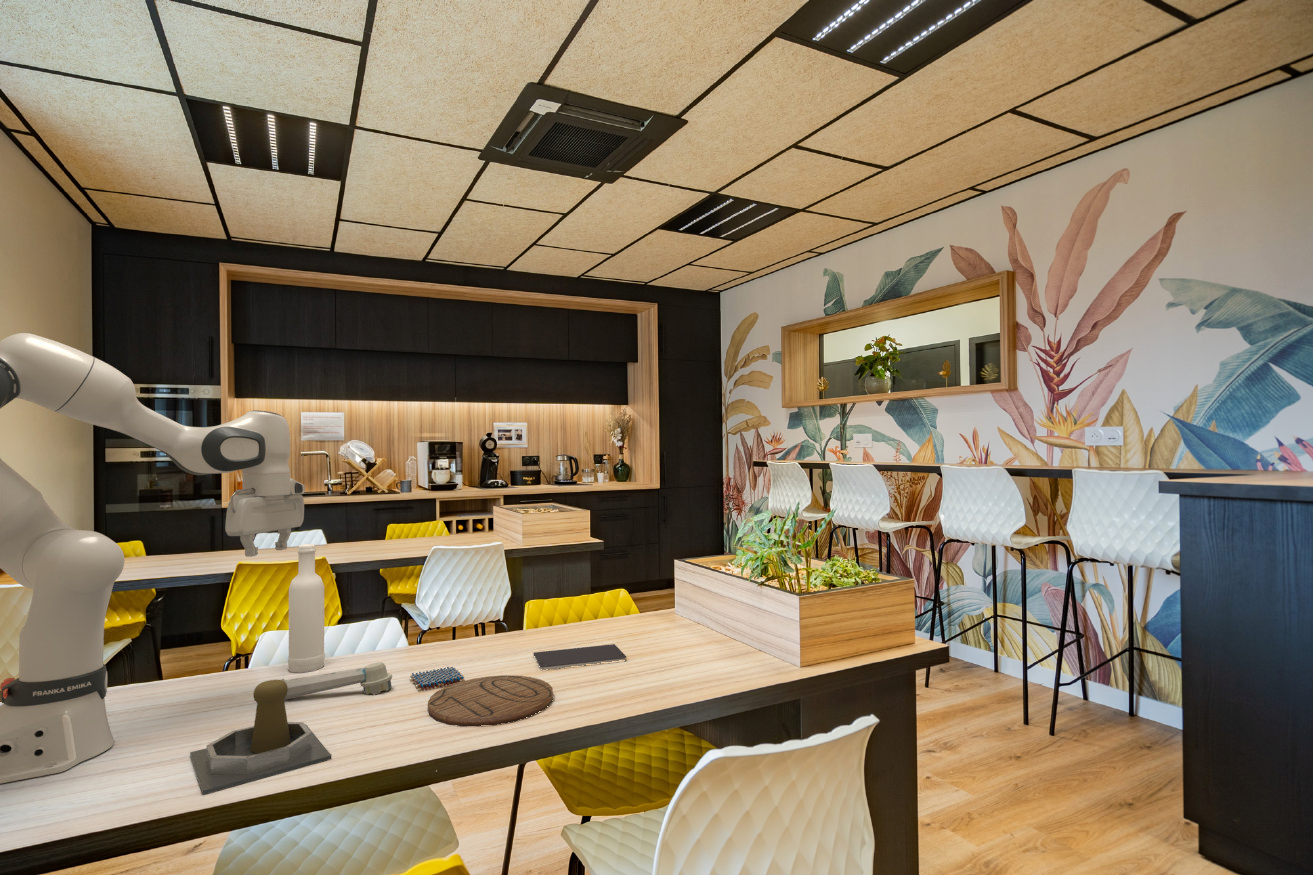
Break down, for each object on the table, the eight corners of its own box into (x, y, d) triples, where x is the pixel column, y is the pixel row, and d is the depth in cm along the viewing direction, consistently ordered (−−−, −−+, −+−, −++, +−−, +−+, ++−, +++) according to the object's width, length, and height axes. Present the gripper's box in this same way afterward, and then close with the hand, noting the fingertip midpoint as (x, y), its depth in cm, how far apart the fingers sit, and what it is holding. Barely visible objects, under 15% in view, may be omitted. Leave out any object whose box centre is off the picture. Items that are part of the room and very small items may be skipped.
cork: (268, 754, 113) (268, 689, 113) (242, 750, 115) (242, 685, 115) (298, 740, 118) (298, 677, 119) (272, 736, 120) (272, 674, 121)
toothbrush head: (267, 680, 143) (390, 653, 149) (272, 710, 143) (394, 683, 149) (259, 688, 138) (386, 660, 144) (263, 719, 138) (391, 691, 144)
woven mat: (454, 673, 159) (454, 664, 159) (467, 685, 150) (466, 676, 150) (408, 681, 153) (408, 672, 153) (418, 694, 144) (418, 685, 144)
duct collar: (202, 794, 101) (202, 774, 101) (190, 755, 114) (190, 737, 114) (331, 758, 112) (331, 740, 112) (305, 727, 126) (305, 710, 126)
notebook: (614, 649, 176) (533, 658, 169) (614, 643, 176) (533, 652, 169) (627, 663, 164) (540, 673, 157) (627, 657, 164) (540, 666, 157)
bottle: (280, 671, 161) (280, 546, 162) (307, 661, 168) (308, 542, 169) (305, 674, 158) (305, 547, 159) (332, 664, 165) (332, 543, 166)
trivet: (471, 740, 120) (471, 729, 120) (404, 706, 137) (404, 697, 137) (577, 701, 138) (577, 692, 138) (507, 676, 155) (507, 668, 155)
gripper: (246, 489, 131) (246, 560, 130) (309, 485, 151) (309, 546, 151) (216, 490, 131) (216, 560, 131) (283, 485, 152) (283, 546, 151)
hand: (266, 552), depth 141 cm, fingers open, 8 cm apart
